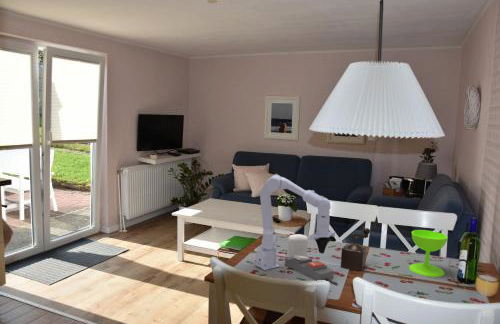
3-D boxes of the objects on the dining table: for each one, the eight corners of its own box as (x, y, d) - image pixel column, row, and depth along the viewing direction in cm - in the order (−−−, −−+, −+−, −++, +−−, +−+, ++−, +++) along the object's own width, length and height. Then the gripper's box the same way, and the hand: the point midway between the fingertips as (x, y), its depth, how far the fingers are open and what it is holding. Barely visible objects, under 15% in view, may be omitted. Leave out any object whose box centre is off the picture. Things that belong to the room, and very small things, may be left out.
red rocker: (313, 268, 181) (314, 265, 181) (307, 265, 184) (308, 262, 184) (324, 266, 185) (324, 263, 184) (317, 263, 188) (318, 261, 188)
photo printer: (305, 256, 210) (306, 233, 209) (307, 259, 206) (308, 235, 205) (286, 256, 209) (287, 233, 207) (288, 259, 204) (289, 235, 203)
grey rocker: (299, 260, 189) (299, 257, 189) (293, 257, 192) (294, 255, 192) (308, 260, 193) (309, 258, 193) (303, 258, 196) (303, 255, 196)
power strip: (330, 287, 171) (331, 277, 171) (284, 264, 196) (285, 255, 196) (344, 283, 176) (344, 273, 176) (297, 262, 201) (298, 253, 201)
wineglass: (401, 266, 200) (404, 231, 198) (426, 263, 206) (429, 229, 204) (425, 278, 185) (429, 240, 184) (452, 274, 191) (455, 238, 189)
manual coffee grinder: (363, 271, 191) (365, 235, 189) (340, 267, 196) (342, 231, 194) (369, 262, 205) (371, 227, 203) (347, 258, 210) (349, 224, 208)
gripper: (317, 228, 180) (315, 257, 181) (340, 224, 188) (338, 252, 189) (306, 224, 185) (305, 253, 187) (329, 221, 193) (327, 248, 195)
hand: (321, 252), depth 188 cm, fingers closed
